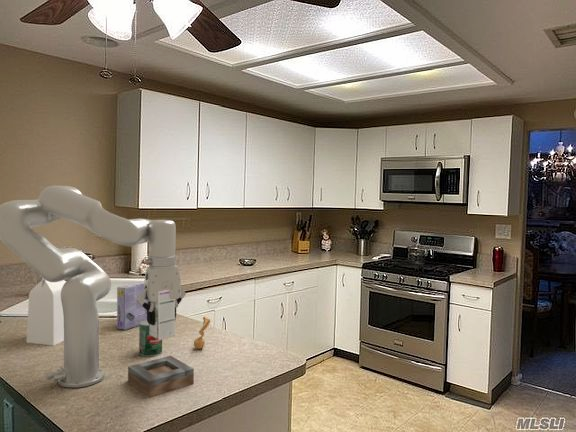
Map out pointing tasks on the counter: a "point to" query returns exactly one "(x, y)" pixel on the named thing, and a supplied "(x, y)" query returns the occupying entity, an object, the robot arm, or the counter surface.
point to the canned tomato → (148, 341)
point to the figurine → (199, 341)
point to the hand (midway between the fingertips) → (161, 321)
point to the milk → (45, 313)
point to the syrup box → (163, 317)
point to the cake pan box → (130, 306)
